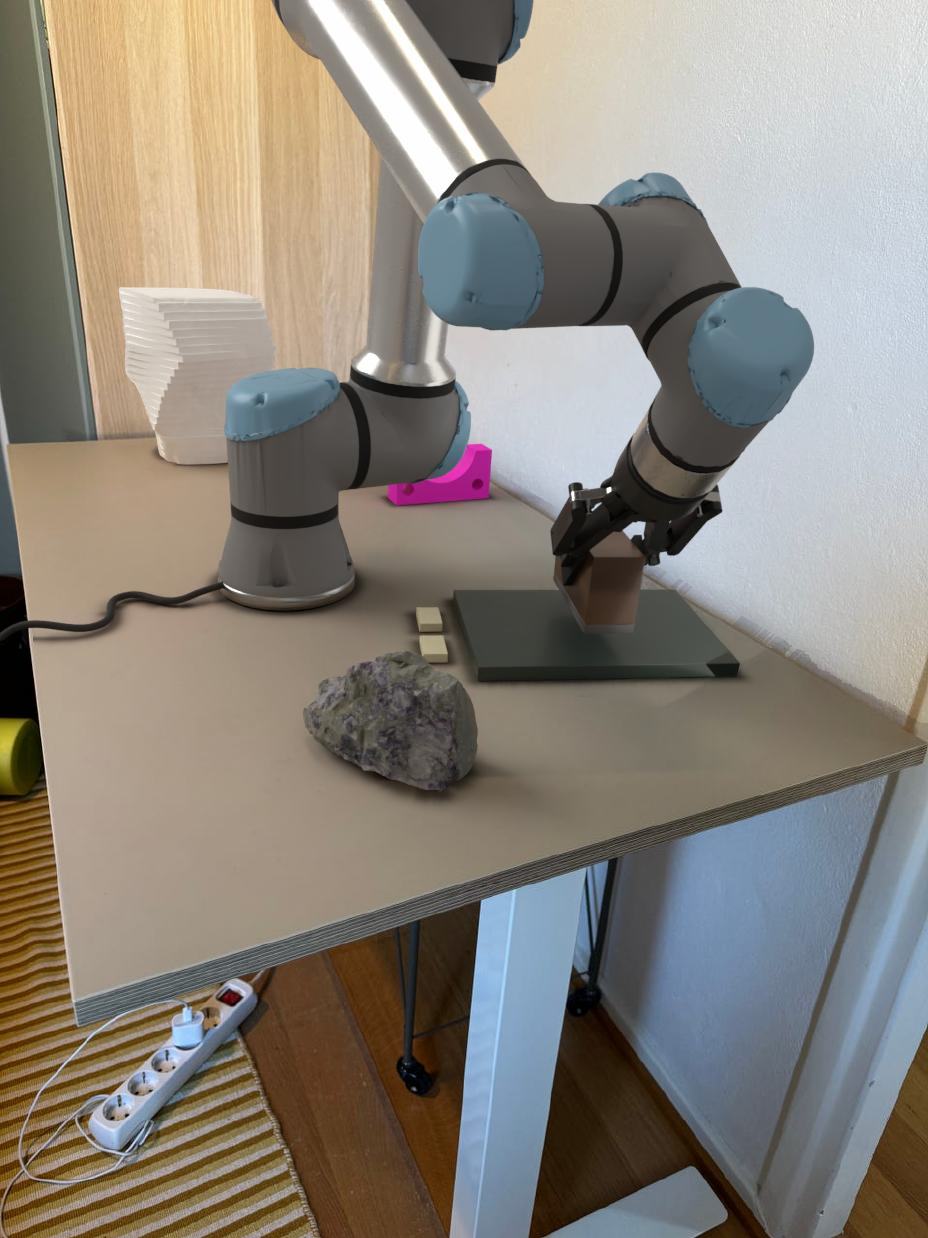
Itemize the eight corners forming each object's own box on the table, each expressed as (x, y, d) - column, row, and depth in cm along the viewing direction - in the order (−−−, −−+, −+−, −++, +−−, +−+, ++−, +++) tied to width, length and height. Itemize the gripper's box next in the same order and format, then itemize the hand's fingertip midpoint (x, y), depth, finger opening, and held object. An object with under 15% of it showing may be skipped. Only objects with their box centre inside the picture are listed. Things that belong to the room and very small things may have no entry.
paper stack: (129, 444, 149) (112, 283, 138) (284, 436, 160) (280, 287, 149) (146, 478, 132) (128, 299, 121) (319, 467, 143) (316, 301, 132)
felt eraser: (633, 633, 85) (645, 557, 81) (583, 634, 84) (593, 557, 80) (596, 579, 96) (606, 510, 93) (552, 579, 96) (560, 510, 92)
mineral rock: (296, 735, 72) (293, 626, 68) (407, 702, 78) (411, 599, 73) (373, 822, 62) (375, 701, 58) (494, 777, 68) (504, 664, 64)
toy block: (471, 486, 139) (474, 439, 136) (488, 497, 134) (492, 449, 130) (382, 492, 133) (383, 444, 130) (396, 505, 128) (397, 455, 125)
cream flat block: (423, 653, 84) (423, 663, 84) (448, 653, 84) (447, 662, 85) (419, 635, 88) (419, 644, 88) (443, 635, 88) (442, 643, 88)
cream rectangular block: (419, 623, 90) (419, 632, 90) (442, 623, 90) (442, 631, 91) (416, 607, 94) (415, 615, 94) (438, 607, 94) (438, 615, 94)
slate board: (737, 676, 86) (740, 663, 85) (477, 681, 82) (478, 667, 81) (673, 600, 102) (675, 589, 101) (452, 601, 98) (453, 589, 97)
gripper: (774, 419, 70) (671, 540, 92) (557, 413, 68) (503, 539, 89) (791, 502, 68) (681, 607, 90) (566, 500, 65) (509, 608, 87)
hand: (592, 573), depth 89 cm, fingers closed on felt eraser, 5 cm apart
